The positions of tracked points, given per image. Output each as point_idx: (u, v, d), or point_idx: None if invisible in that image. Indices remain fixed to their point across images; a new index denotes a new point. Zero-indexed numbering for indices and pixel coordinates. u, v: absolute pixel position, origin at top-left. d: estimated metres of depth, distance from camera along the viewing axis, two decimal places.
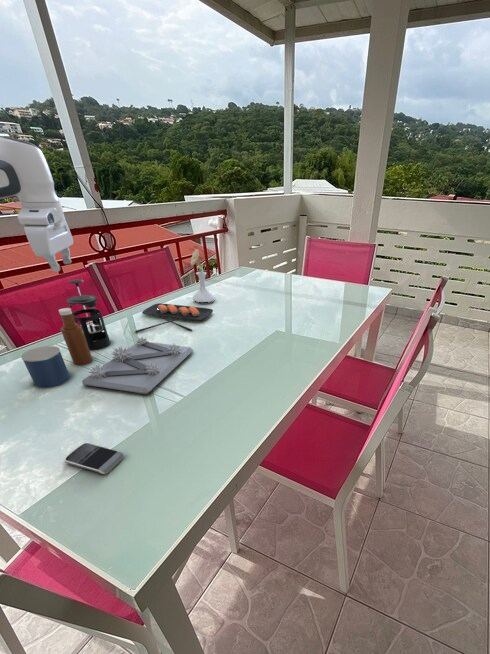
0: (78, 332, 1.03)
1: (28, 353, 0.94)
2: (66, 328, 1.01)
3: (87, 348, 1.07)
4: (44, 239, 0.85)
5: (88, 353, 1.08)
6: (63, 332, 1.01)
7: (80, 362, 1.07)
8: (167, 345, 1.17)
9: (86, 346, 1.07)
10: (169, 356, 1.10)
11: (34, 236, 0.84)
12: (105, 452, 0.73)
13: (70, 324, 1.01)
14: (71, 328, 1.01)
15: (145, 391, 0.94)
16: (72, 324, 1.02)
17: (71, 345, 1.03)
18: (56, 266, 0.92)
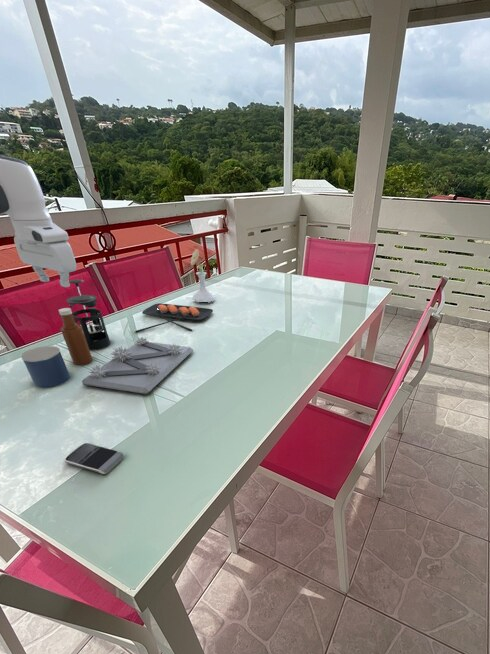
0: (78, 332, 1.03)
1: (28, 353, 0.94)
2: (66, 328, 1.01)
3: (87, 348, 1.07)
4: (72, 253, 0.88)
5: (88, 353, 1.08)
6: (63, 332, 1.01)
7: (80, 362, 1.07)
8: (167, 345, 1.17)
9: (86, 346, 1.07)
10: (169, 356, 1.10)
11: (63, 252, 0.86)
12: (105, 452, 0.73)
13: (70, 324, 1.01)
14: (71, 328, 1.01)
15: (145, 391, 0.94)
16: (72, 324, 1.02)
17: (71, 345, 1.03)
18: (67, 281, 0.93)
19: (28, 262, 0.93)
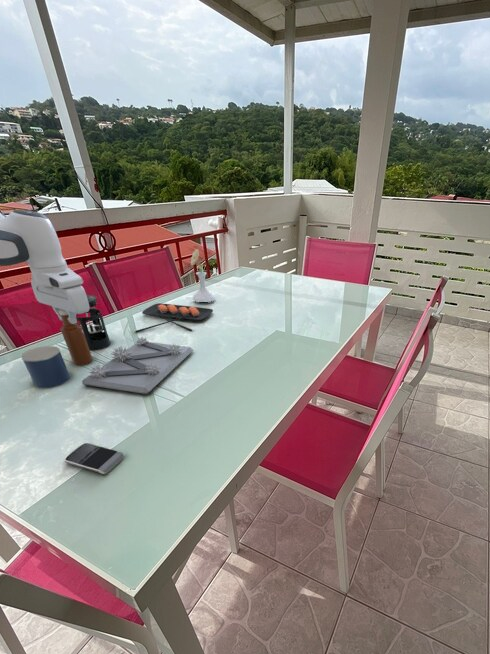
0: (78, 332, 1.03)
1: (28, 353, 0.94)
2: (66, 328, 1.01)
3: (87, 348, 1.07)
4: (85, 296, 0.95)
5: (88, 353, 1.08)
6: (63, 332, 1.01)
7: (80, 362, 1.07)
8: (167, 345, 1.17)
9: (86, 346, 1.07)
10: (169, 356, 1.10)
11: (77, 296, 0.93)
12: (105, 452, 0.73)
13: (70, 324, 1.01)
14: (71, 328, 1.01)
15: (145, 391, 0.94)
16: (72, 324, 1.02)
17: (71, 345, 1.03)
18: (75, 318, 1.00)
19: (43, 302, 1.00)
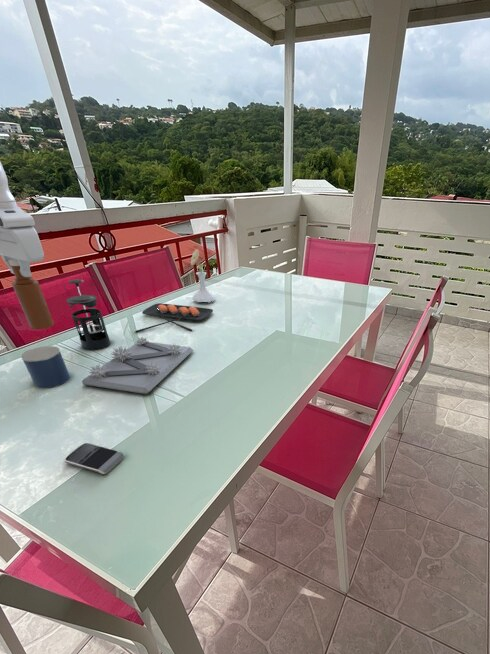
0: (33, 288, 0.87)
1: (28, 353, 0.94)
2: (18, 282, 0.85)
3: (46, 309, 0.92)
4: (38, 241, 0.79)
5: (48, 314, 0.92)
6: (15, 287, 0.85)
7: (38, 325, 0.91)
8: (167, 345, 1.17)
9: (44, 306, 0.91)
10: (169, 356, 1.10)
11: (27, 239, 0.77)
12: (105, 452, 0.73)
13: (23, 277, 0.86)
14: (24, 282, 0.86)
15: (145, 391, 0.94)
16: (26, 278, 0.86)
17: (25, 303, 0.88)
18: (28, 270, 0.85)
19: None
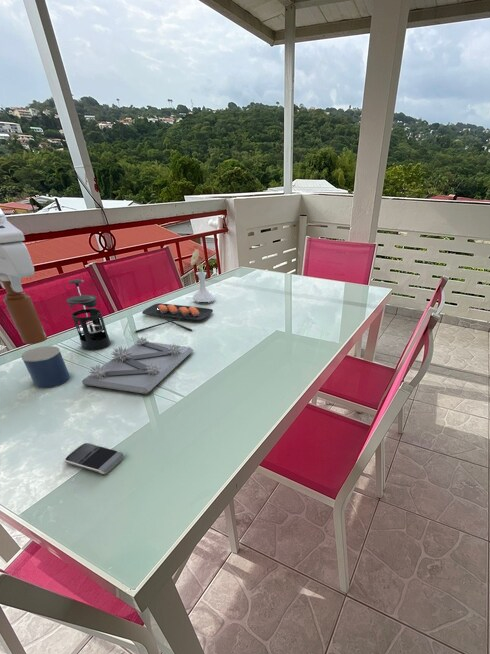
0: (25, 303, 0.85)
1: (28, 353, 0.94)
2: (9, 297, 0.84)
3: (38, 323, 0.90)
4: (28, 256, 0.77)
5: (40, 329, 0.91)
6: (6, 302, 0.84)
7: (30, 340, 0.90)
8: (167, 345, 1.17)
9: (37, 321, 0.89)
10: (169, 356, 1.10)
11: (17, 255, 0.75)
12: (105, 452, 0.73)
13: (14, 293, 0.84)
14: (16, 297, 0.84)
15: (145, 391, 0.94)
16: (17, 293, 0.84)
17: (16, 318, 0.86)
18: (19, 285, 0.83)
19: None
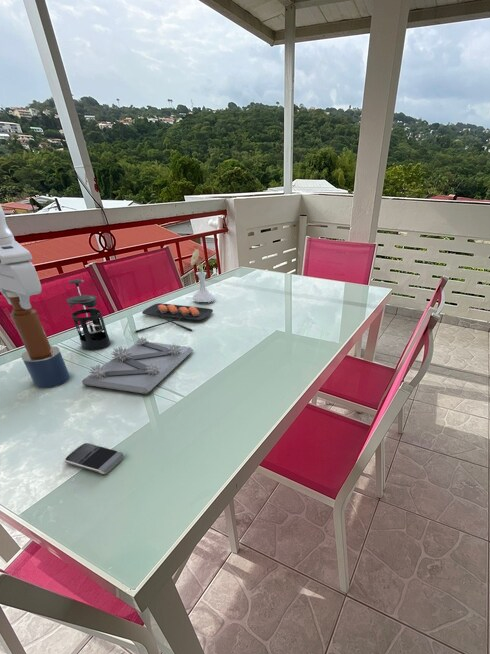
0: (31, 318, 0.88)
1: None
2: (16, 313, 0.86)
3: (44, 337, 0.92)
4: (35, 275, 0.80)
5: (46, 342, 0.93)
6: (13, 317, 0.86)
7: (36, 353, 0.92)
8: (167, 345, 1.17)
9: (42, 335, 0.91)
10: (169, 356, 1.10)
11: (25, 274, 0.78)
12: (105, 452, 0.73)
13: (21, 308, 0.86)
14: (22, 313, 0.86)
15: (145, 391, 0.94)
16: None
17: (23, 333, 0.88)
18: (28, 302, 0.85)
19: None
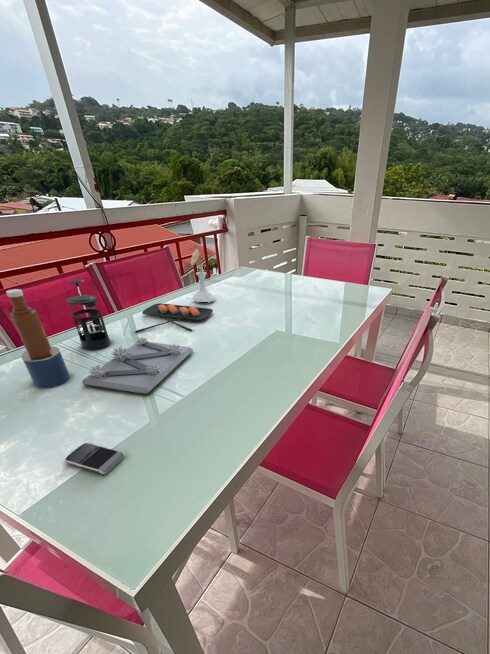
0: (31, 318, 0.88)
1: None
2: (16, 313, 0.86)
3: (44, 337, 0.92)
4: None
5: (46, 342, 0.93)
6: (13, 317, 0.86)
7: (36, 353, 0.92)
8: (167, 345, 1.17)
9: (43, 335, 0.91)
10: (169, 356, 1.10)
11: None
12: (105, 452, 0.73)
13: (21, 308, 0.86)
14: (22, 313, 0.86)
15: (145, 391, 0.94)
16: (24, 308, 0.87)
17: (23, 333, 0.88)
18: None
19: None
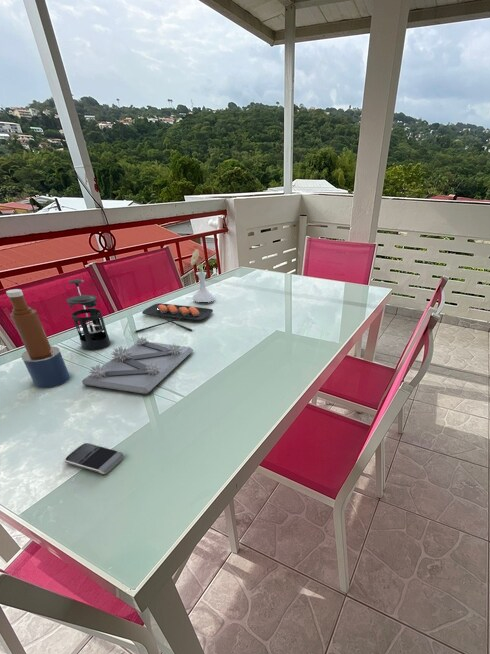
0: (31, 318, 0.88)
1: None
2: (16, 313, 0.86)
3: (44, 337, 0.92)
4: None
5: (46, 342, 0.93)
6: (13, 317, 0.86)
7: (36, 353, 0.92)
8: (167, 345, 1.17)
9: (43, 335, 0.91)
10: (169, 356, 1.10)
11: None
12: (105, 452, 0.73)
13: (21, 308, 0.86)
14: (22, 313, 0.86)
15: (145, 391, 0.94)
16: (24, 308, 0.87)
17: (23, 333, 0.88)
18: None
19: None
